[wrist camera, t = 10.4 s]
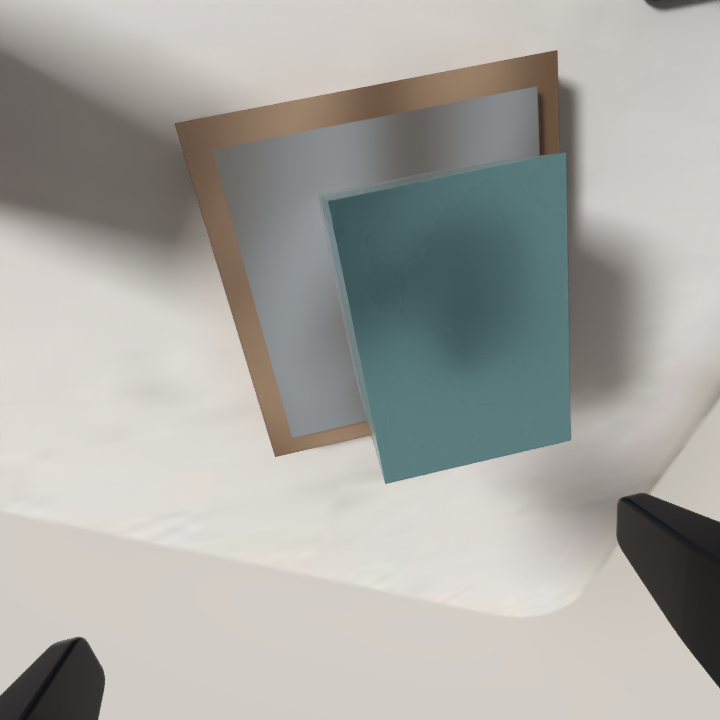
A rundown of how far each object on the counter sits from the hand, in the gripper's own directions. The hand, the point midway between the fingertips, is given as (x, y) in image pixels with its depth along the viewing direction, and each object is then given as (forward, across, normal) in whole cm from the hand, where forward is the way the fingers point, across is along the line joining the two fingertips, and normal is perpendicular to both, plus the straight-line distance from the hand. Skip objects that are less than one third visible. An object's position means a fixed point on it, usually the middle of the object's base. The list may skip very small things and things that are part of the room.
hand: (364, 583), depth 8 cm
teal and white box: (+11, -4, -2) cm, 12 cm away
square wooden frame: (+13, -4, -2) cm, 14 cm away
